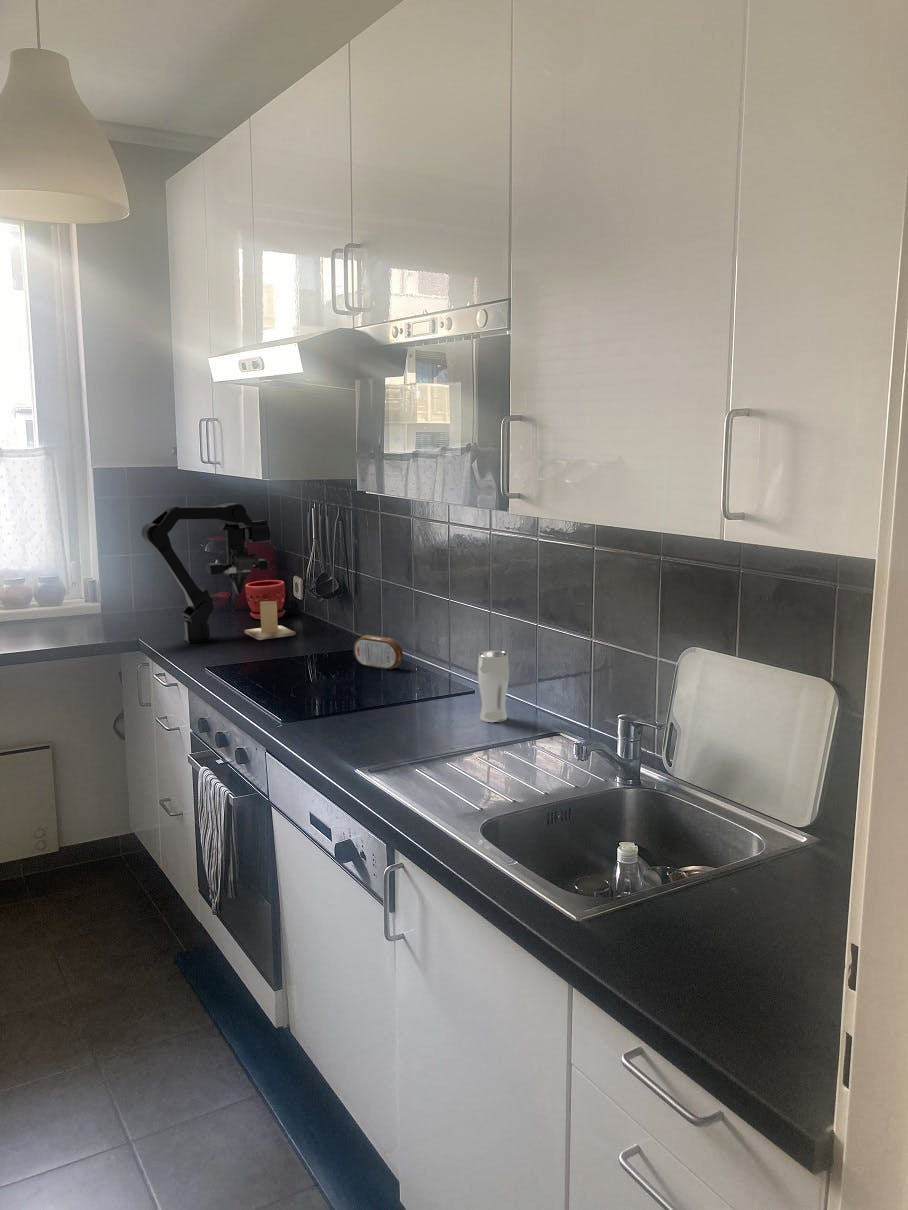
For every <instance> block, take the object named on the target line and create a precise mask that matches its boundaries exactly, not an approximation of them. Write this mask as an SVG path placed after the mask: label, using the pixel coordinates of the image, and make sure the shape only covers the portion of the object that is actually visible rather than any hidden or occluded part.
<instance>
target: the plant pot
mask: <svg viewBox="0 0 908 1210" xmlns="http://www.w3.org/2000/svg"><path fill="white" fill-rule="evenodd" d="M244 585H245V587H244V588H245V597H246V601H247V604H248V606H249V608H250V610H251V611H250V613H249V615H250V616H251V617H252V618H253V619H256V620H261V613H260V602H265V601H277V619H278V618H281V617H283V616H284V614H285V612H286V610H285V609H284V608H283V607H284V603H285V599H286V598H285V597H286V586H285V582H284V581H283V580H280V579H279V580H278V579H274V580H273V579H266V580H257V581H252V582H248V583H246V584H244Z"/></svg>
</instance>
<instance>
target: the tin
mask: <svg viewBox="0 0 908 1210" xmlns="http://www.w3.org/2000/svg"><path fill="white" fill-rule="evenodd" d="M353 654H354V657H355V659H356V661H357V662H358V663H359V664H360V665H362V666H364V667H369V668H374V669H375V668H376V669H382V670H387V669H389V670H392V669H396V668H398V667H399V666H400V665H401V664H402V662H403V659H404V653H403V648H402V646H401V645H400V643H399V642H398V641H396V640H395V639H393V638H392V637H385V636H377V635H371V634H365V635H363V636H362V637H359V638H358V639H356V641H355V642H354V643H353Z"/></svg>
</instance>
